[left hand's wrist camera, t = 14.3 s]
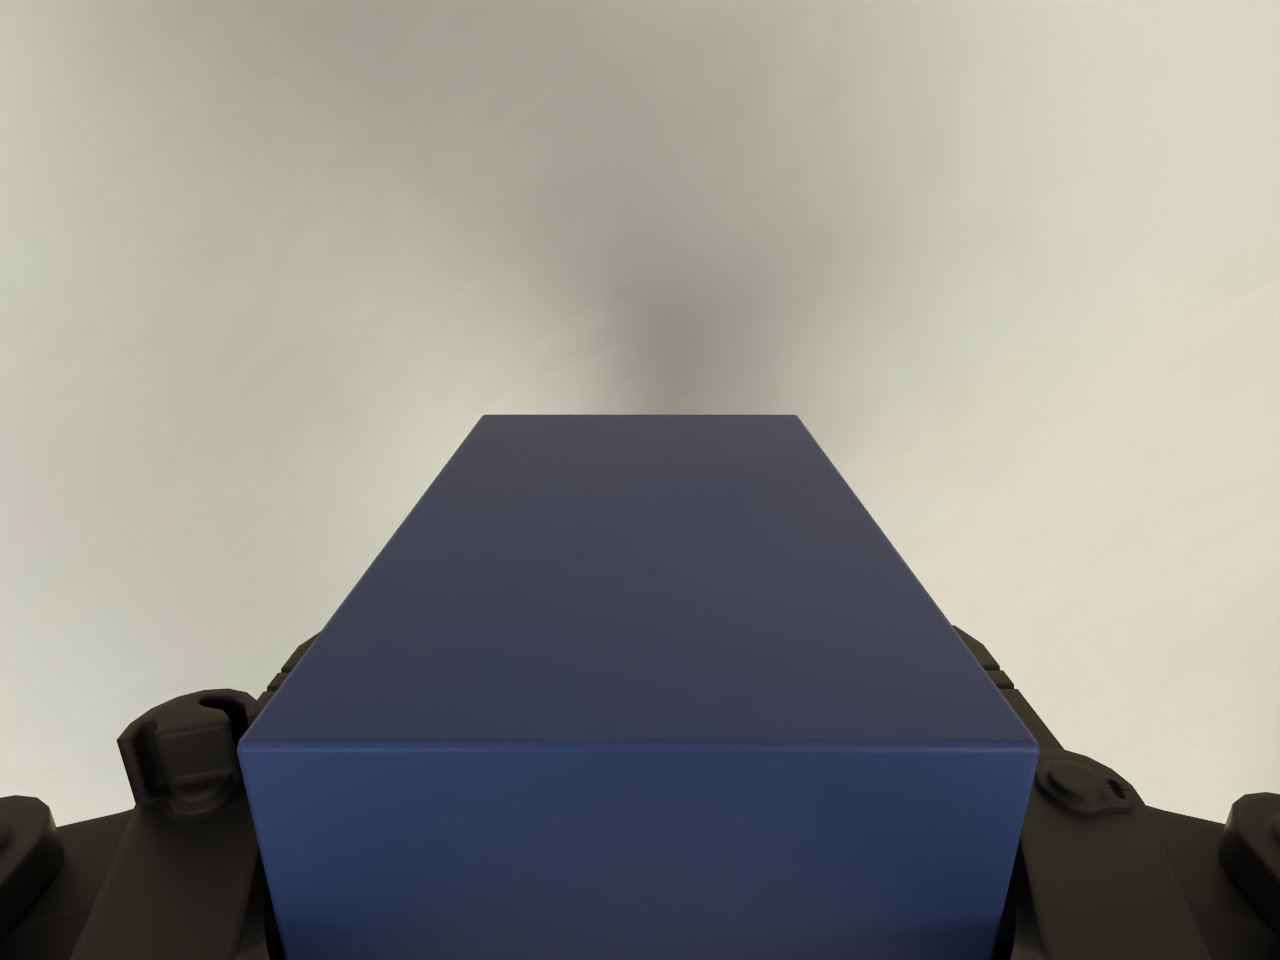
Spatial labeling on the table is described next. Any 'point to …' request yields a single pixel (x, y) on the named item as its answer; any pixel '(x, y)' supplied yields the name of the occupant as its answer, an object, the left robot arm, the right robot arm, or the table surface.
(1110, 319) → the table surface
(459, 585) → the bar
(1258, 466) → the table surface
